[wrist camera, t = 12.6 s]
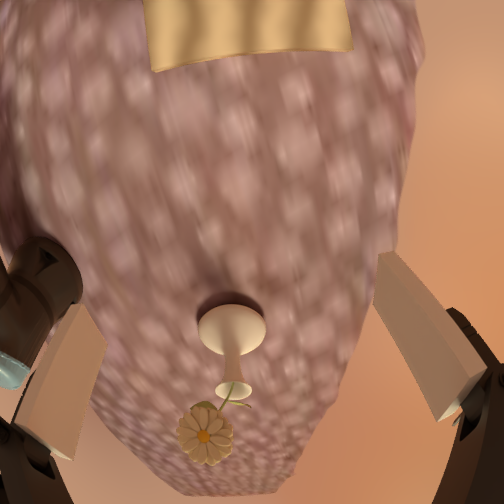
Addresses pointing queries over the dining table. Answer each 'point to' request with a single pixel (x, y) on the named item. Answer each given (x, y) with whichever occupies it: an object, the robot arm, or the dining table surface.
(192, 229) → the dining table surface
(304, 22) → the display board
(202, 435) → the flower in vase
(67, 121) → the dining table surface
